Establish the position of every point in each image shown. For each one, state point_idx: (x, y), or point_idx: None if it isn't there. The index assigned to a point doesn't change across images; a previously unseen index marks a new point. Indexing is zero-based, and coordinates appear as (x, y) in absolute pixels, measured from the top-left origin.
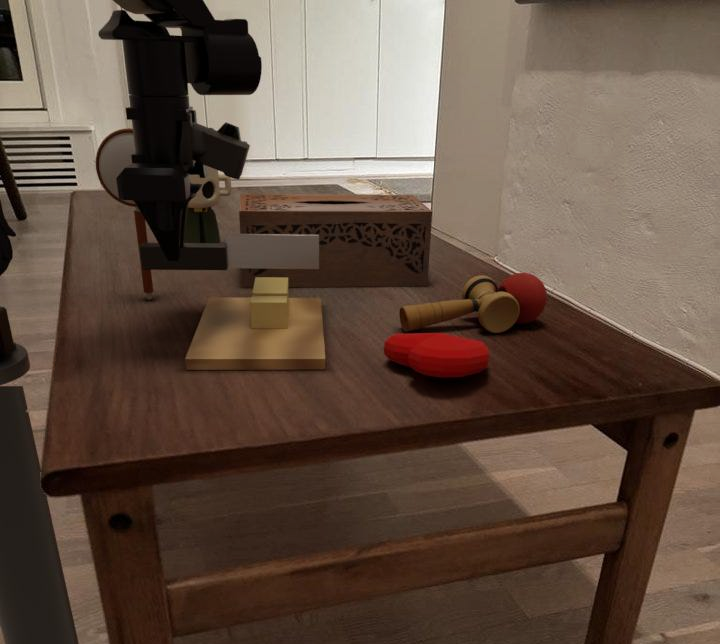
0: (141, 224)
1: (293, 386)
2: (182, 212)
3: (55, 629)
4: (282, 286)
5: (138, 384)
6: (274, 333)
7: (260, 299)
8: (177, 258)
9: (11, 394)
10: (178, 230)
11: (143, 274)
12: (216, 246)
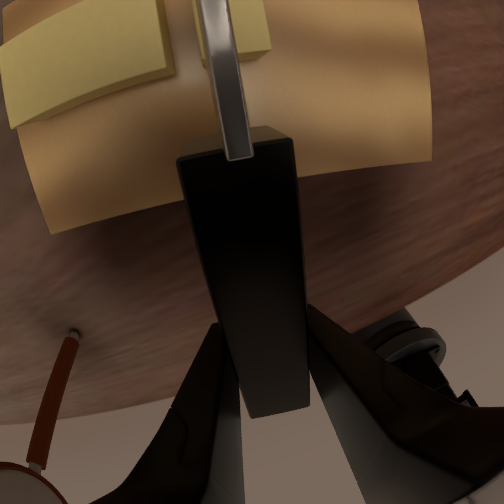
0: (44, 442)
1: (451, 5)
2: (215, 454)
3: None
4: (81, 13)
5: (453, 207)
6: (284, 7)
7: (238, 26)
8: (312, 307)
9: (410, 324)
10: (390, 364)
11: (70, 369)
12: (270, 191)
